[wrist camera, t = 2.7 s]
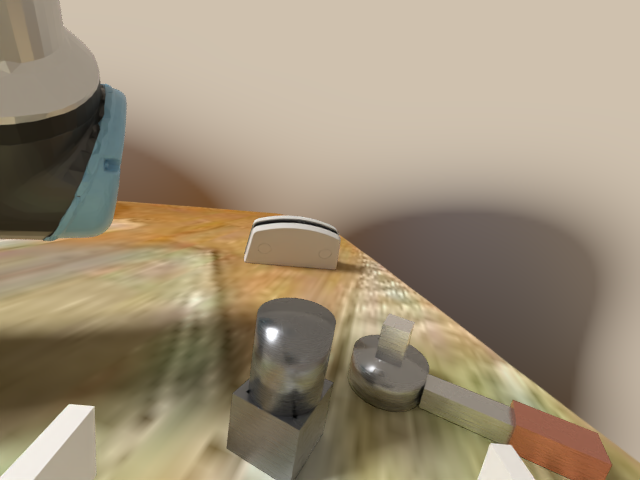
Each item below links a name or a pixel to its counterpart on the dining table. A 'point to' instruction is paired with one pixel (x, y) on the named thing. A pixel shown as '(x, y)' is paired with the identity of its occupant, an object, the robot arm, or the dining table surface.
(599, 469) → the ratchet
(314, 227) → the hinge
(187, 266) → the dining table surface
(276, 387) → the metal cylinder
